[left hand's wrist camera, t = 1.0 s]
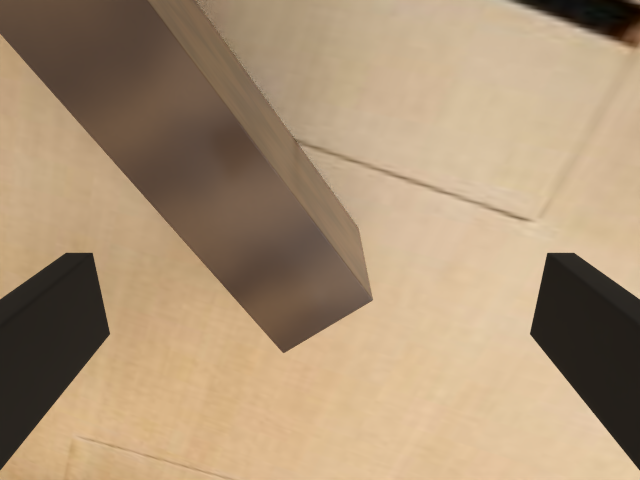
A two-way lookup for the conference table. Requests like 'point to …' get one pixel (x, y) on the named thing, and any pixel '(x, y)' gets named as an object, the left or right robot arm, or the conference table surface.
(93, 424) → the conference table surface
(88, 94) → the box
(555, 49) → the conference table surface
